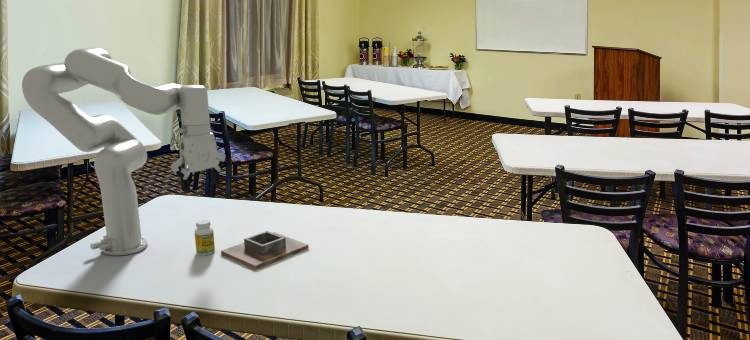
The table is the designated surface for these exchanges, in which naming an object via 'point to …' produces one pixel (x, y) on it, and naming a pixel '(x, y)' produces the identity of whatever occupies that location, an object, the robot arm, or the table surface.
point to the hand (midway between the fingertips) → (201, 188)
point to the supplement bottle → (204, 238)
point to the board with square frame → (264, 249)
